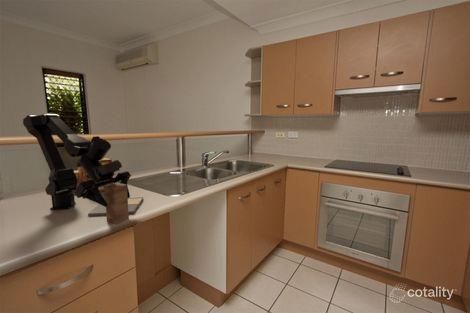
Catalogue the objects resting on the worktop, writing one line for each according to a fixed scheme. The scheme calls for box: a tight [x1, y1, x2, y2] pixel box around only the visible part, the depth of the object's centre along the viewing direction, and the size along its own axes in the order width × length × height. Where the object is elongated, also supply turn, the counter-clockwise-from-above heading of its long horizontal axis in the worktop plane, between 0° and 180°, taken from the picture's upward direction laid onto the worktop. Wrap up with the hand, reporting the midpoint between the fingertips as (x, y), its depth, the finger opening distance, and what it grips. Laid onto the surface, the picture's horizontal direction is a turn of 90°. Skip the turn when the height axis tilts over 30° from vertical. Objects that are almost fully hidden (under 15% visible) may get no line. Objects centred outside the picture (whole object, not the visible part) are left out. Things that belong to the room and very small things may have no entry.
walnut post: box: [104, 183, 130, 225], centre depth 80 cm, size 5×5×13 cm
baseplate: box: [87, 197, 144, 217], centre depth 93 cm, size 16×16×1 cm
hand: (118, 201), depth 79 cm, fingers open, 9 cm apart
